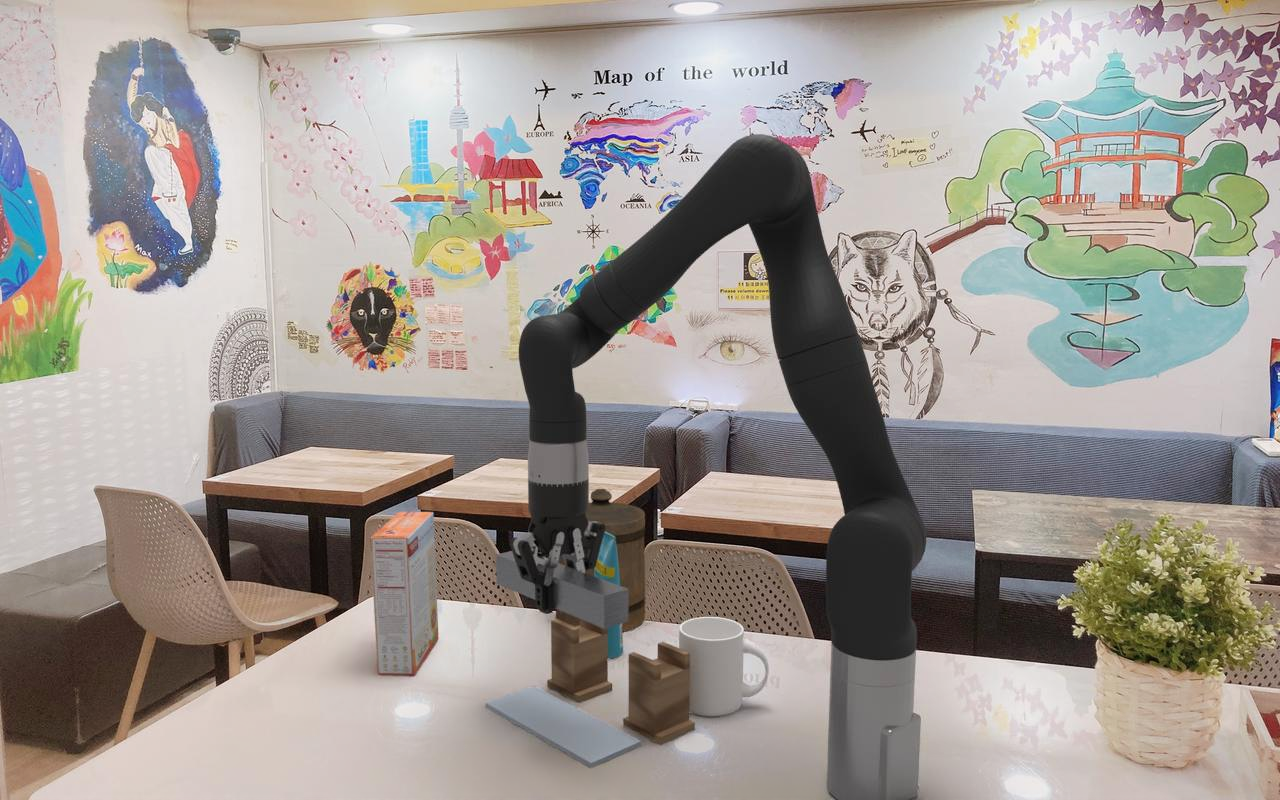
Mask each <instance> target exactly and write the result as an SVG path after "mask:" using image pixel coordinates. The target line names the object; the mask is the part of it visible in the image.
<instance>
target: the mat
mask: <svg viewBox="0 0 1280 800" xmlns="http://www.w3.org/2000/svg"><path fill="white" fill-rule="evenodd" d="M485 708H487V709H489V710H490V711H492V712H494V713H496V714H497V715H499V716H501V717H503V718H504V719H506V720H508V721H509V722H511V723H512V724H514V725H516V726H518V727H520V728H521V729H523V730H524V731H527V733H530V734H531V735H533V736H535V737H537V738H538V739H541V740H542V741H544V742H545V743H548V744H549V745H550V746H553V747H554V748H556V749H558V750H559V751H562V752H563V753H564V754H567V755H568V756H570V757H572V758H574V760H577V761H578V762H581V763H582V764H583V765H586V766H587V767H589V768H594V767H597V766H598V765H601V764H603V763H605V762H607V761H610V760H612V759H614V758H617V757H619V756H621V755H623V754H626V753H628V752H631V751H633V750H635V749H637V748H640V747H641V746H642V741H640V739H637V738H635V737H633V736H632V735H629V734H627V733H626V732H624V731H622V730H620V729H619V728H616V727H614V726H613V725H610V724H608V723H607V722H604V721H603V720H601V719H599V718H597V717H595V716H593V715H591V714H589V713H587V712H585V711H583V710H581V709H579V708H578V707H576V706H574V705H572V704H570V703H568V702H565V700H562V699H560V698H558V697H556V696H554V695H552V694H551V693H549V692H547V691H546V690H545V691H544V690H542V689H541V688H539V687H537V686H535V685H532V686H529V687H526V688H524V689H521V690H518V691H516V692H515V691H514V692H512V693H510V694H507V695H504V696H501V697H498V698H495V699H492V700H490V701H486V702H485Z"/></svg>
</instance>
